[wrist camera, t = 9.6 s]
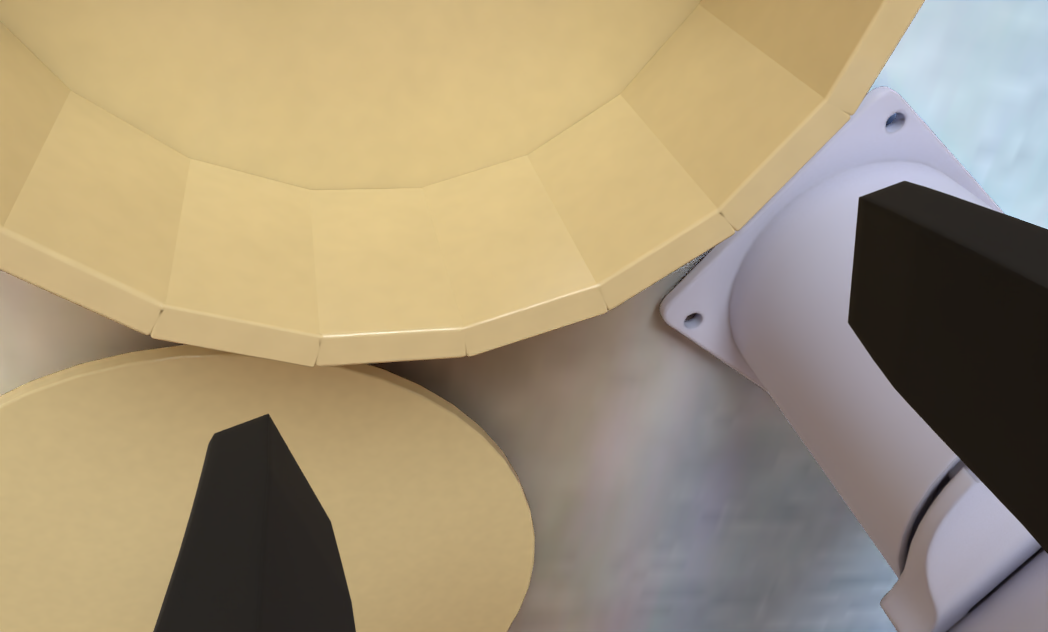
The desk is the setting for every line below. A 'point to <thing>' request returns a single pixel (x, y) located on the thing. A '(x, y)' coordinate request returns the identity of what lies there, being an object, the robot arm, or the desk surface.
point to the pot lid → (320, 451)
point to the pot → (403, 157)
